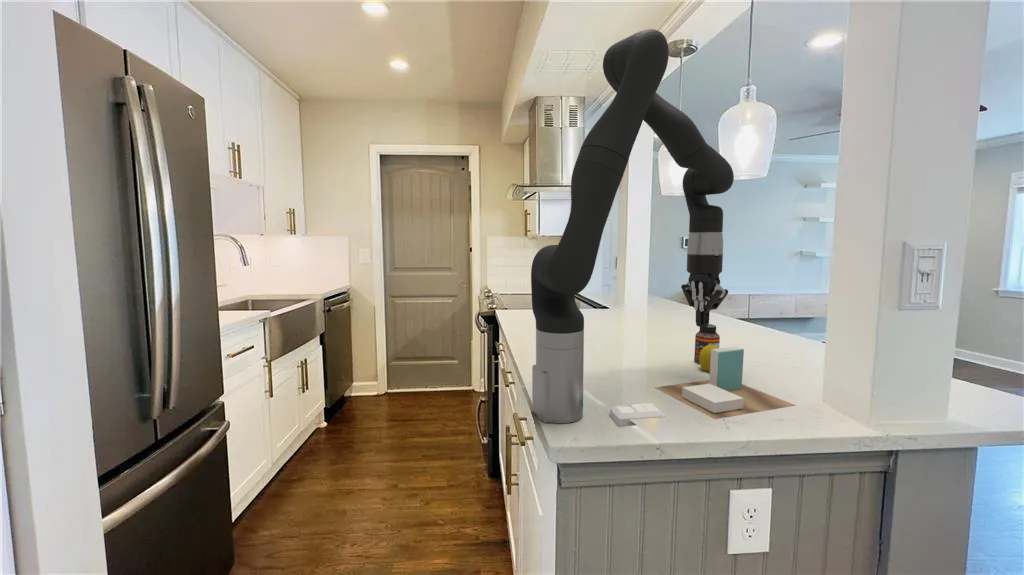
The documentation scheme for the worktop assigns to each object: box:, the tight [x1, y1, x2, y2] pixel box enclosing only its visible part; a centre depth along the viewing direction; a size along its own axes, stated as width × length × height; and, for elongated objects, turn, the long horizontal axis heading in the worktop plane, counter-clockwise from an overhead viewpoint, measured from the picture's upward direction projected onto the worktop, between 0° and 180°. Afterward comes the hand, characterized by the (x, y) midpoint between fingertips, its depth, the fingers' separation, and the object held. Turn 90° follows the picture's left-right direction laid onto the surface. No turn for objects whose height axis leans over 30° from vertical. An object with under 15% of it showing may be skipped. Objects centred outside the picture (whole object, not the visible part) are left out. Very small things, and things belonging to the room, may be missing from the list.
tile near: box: [682, 384, 744, 414], centre depth 88 cm, size 7×2×9 cm
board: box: [654, 379, 796, 420], centre depth 93 cm, size 20×18×1 cm
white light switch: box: [609, 402, 666, 427], centre depth 84 cm, size 5×9×3 cm, turn 98°
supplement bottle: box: [693, 323, 721, 365], centre depth 117 cm, size 6×6×11 cm
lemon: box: [699, 344, 720, 373], centre depth 110 cm, size 6×6×8 cm
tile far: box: [708, 346, 745, 391], centre depth 96 cm, size 7×2×9 cm, turn 108°
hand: (702, 326), depth 103 cm, fingers closed
